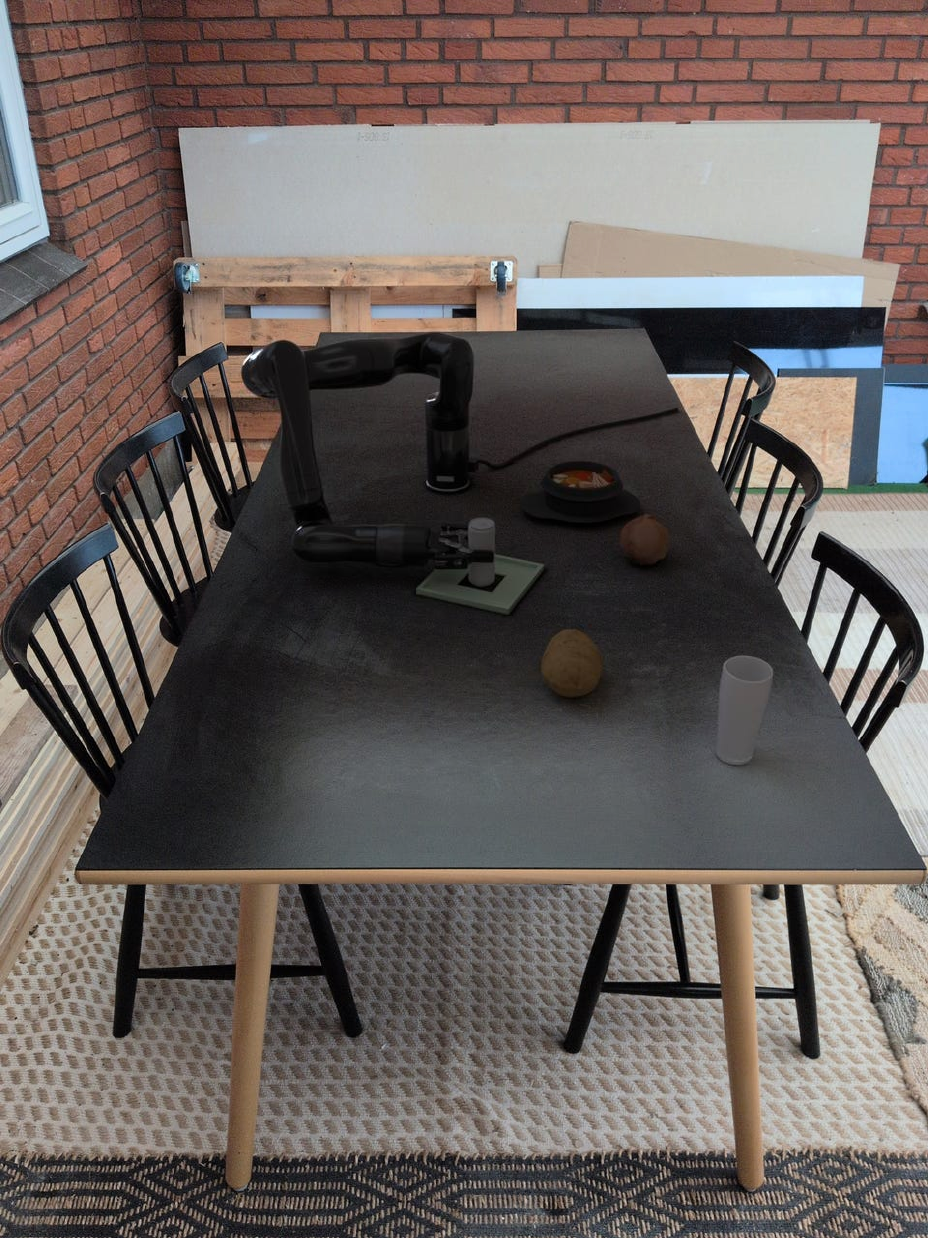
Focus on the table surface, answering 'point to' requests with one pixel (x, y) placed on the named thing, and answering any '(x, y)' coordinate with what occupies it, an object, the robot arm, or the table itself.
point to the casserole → (580, 494)
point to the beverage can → (481, 539)
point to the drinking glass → (742, 706)
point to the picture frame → (500, 600)
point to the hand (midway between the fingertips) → (494, 547)
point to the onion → (644, 540)
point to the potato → (571, 664)
